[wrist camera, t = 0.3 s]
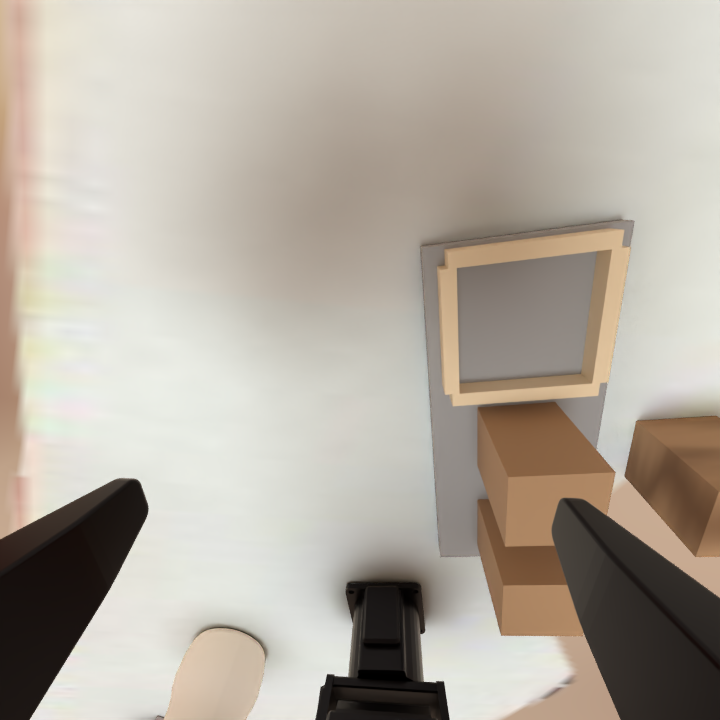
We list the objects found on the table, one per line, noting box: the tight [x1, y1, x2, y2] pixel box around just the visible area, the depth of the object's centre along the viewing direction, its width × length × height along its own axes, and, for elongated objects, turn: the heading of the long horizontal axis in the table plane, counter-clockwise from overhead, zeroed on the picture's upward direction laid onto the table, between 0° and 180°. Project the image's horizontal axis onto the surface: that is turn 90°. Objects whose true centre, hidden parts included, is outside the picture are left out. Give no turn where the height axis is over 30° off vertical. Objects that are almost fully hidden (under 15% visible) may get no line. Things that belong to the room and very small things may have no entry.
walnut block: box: [625, 416, 720, 557], centre depth 20 cm, size 4×4×6 cm
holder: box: [421, 220, 634, 636], centre depth 19 cm, size 23×10×7 cm, turn 8°
